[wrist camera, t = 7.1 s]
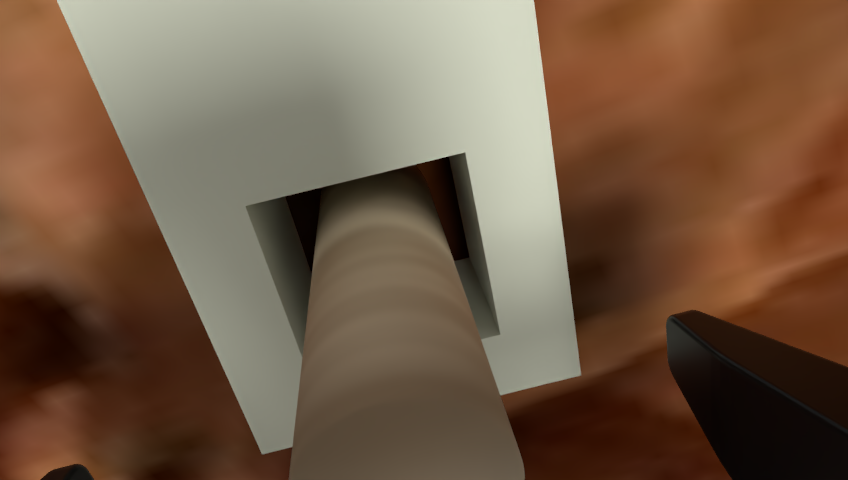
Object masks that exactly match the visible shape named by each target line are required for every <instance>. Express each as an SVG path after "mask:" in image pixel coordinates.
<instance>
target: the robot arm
mask: <svg viewBox="0 0 848 480" xmlns="http://www.w3.org/2000/svg"><path fill="white" fill-rule="evenodd" d="M666 332H667V354H668V363H669V367H670V370H671V373H672V375H673V377H674V379H675V380H676V382H677V384H678V386H679V388H680V390H681V391H682V393H683V395H684V397H685V399H686V401H687V402H688V404H689V406H690V408H691V410H692V412H693V413H694V415H695V417H696V419H697V421H698V422H699V424H700V426H701V428H702V430H703V432H704V433H705V435H706V437H707V439H708V441H709V443H710V444H711V446H712V448H713V450H714V451H715V453H716V455H717V457H718V458H719V460H720V462H721V463H722V465H723V466H724V468H725V469H726V471H727V472H728V474H729V475H730V477H731V478H732V480H848V367H846V366H843V365H841V364H838V363H835V362H833V361H830V360H827V359H825V358H822V357H819V356H817V355H814V354H811V353H809V352H806V351H803V350H801V349H798V348H795V347H793V346H790V345H787V344H785V343H782V342H779V341H777V340H774V339H772V338H769V337H766V336H764V335H761V334H758V333H756V332H753V331H750V330H748V329H745V328H742V327H740V326H737V325H734V324H732V323H729V322H726V321H724V320H721V319H718V318H716V317H713V316H710V315H708V314H705V313H702V312H700V311H696V310H690V311H686V312H682V313H678V314H674V315H671V316H670V317H669V318H668V319H667V323H666ZM41 480H94V479H93V477H92V476H91V474H90V473H89V471H88V470H87V468H86V467H84V466H83V465H81V464H74V465H70V466H66V467H62V468H58V469H55V470H52V471H50V472H49V473H48V474H46V475H45V476H44V477H43V478H42V479H41Z"/></svg>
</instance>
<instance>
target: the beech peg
mask: <svg viewBox="0 0 848 480" xmlns="http://www.w3.org/2000/svg"><path fill="white" fill-rule="evenodd" d="M289 480H525V473H524V465H523V461H522V458H521V454H520V451H519V448H518V445H517V443H516V440H515V437H514V434H513V431H512V428H511V425H510V422H509V419H508V416H507V414H506V411H505V408H504V405H503V402H502V399H501V396H500V393H499V390H498V387H497V385H496V382H495V379H494V376H493V373H492V370H491V367H490V364H489V361H488V358H487V356H486V353H485V350H484V347H483V344H482V341H481V338H480V335H479V332H478V329H477V326H476V324H475V321H474V318H473V315H472V312H471V309H470V306H469V303H468V300H467V297H466V295H465V292H464V289H463V286H462V283H461V280H460V277H459V274H458V271H457V268H456V266H455V263H454V260H453V257H452V254H451V251H450V248H449V245H448V242H447V239H446V237H445V234H444V231H443V228H442V225H441V222H440V219H439V216H438V213H437V210H436V208H435V205H434V202H433V199H432V196H431V193H430V190H429V187H428V184H427V182H426V180H425V178H424V176H423V175H422V173H421V171H420V170H419V169H418V168H417V167H416V166H415V165H411V166H407V167H403V168H399V169H395V170H391V171H387V172H383V173H378V174H374V175H370V176H366V177H362V178H358V179H354V180H350V181H346V182H342V183H338V184H333V185H329V186H325V187H323V188H322V192H321V198H320V207H319V216H318V225H317V234H316V243H315V251H314V260H313V269H312V278H311V287H310V296H309V304H308V313H307V322H306V331H305V340H304V349H303V357H302V366H301V375H300V384H299V393H298V402H297V410H296V419H295V428H294V437H293V446H292V455H291V463H290V472H289Z"/></svg>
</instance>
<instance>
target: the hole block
mask: <svg viewBox="0 0 848 480" xmlns="http://www.w3.org/2000/svg"><path fill="white" fill-rule="evenodd" d="M57 2H58V4H59V6H60V9H61V11H62V13H63V15H64V17H65V20H66V22H67V24H68V26H69V28H70V31H71V33H72V35H73V37H74V40H75V42H76V44H77V46H78V48H79V51H80V53H81V55H82V57H83V59H84V62H85V64H86V66H87V68H88V70H89V73H90V75H91V77H92V79H93V82H94V84H95V86H96V88H97V90H98V93H99V95H100V97H101V99H102V101H103V104H104V106H105V108H106V110H107V113H108V115H109V117H110V119H111V121H112V124H113V126H114V128H115V130H116V132H117V135H118V137H119V139H120V141H121V143H122V146H123V148H124V150H125V152H126V155H127V157H128V159H129V161H130V163H131V166H132V168H133V170H134V172H135V174H136V177H137V179H138V181H139V183H140V186H141V188H142V190H143V192H144V194H145V197H146V199H147V201H148V203H149V205H150V208H151V210H152V212H153V214H154V216H155V219H156V221H157V223H158V225H159V228H160V230H161V232H162V234H163V236H164V239H165V241H166V243H167V245H168V247H169V250H170V252H171V254H172V256H173V258H174V261H175V263H176V265H177V267H178V270H179V272H180V274H181V276H182V278H183V281H184V283H185V285H186V287H187V289H188V292H189V294H190V296H191V298H192V301H193V303H194V305H195V307H196V309H197V312H198V314H199V316H200V318H201V320H202V323H203V325H204V327H205V329H206V331H207V334H208V336H209V338H210V340H211V343H212V345H213V347H214V349H215V351H216V354H217V356H218V358H219V360H220V362H221V365H222V367H223V369H224V371H225V374H226V376H227V378H228V380H229V382H230V385H231V387H232V389H233V391H234V393H235V396H236V398H237V400H238V402H239V404H240V407H241V409H242V411H243V413H244V416H245V418H246V420H247V422H248V424H249V427H250V429H251V431H252V433H253V435H254V438H255V440H256V442H257V444H258V447H259V449H260V451H261V453H262V454H266V453H270V452H274V451H278V450H282V449H286V448H290V447H292V446H293V437H294V428H295V419H296V410H297V402H298V393H299V384H300V375H301V366H302V357H303V349H304V340H305V331H306V322H307V313H308V304H309V296H310V287H311V278H312V273H311V270H310V267H309V265H308V262H307V259H306V256H305V253H304V250H303V247H302V244H301V241H300V238H299V235H298V232H297V229H296V227H295V224H294V221H293V218H292V215H291V212H290V209H289V206H288V203H287V200H286V197H285V196H288V195H293V194H297V193H301V192H305V191H309V190H313V189H317V188H321V187H325V186H329V185H333V184H338V183H342V182H346V181H350V180H354V179H358V178H362V177H366V176H370V175H374V174H378V173H383V172H387V171H391V170H395V169H399V168H403V167H407V166H411V165H415V164H419V163H424V162H428V161H432V160H436V159H440V158H444V157H448V156H449V160H450V165H451V170H452V175H453V180H454V185H455V189H456V194H457V199H458V204H459V209H460V214H461V218H462V223H463V228H464V233H465V238H466V243H467V247H468V252H469V258H465V259H461V260H457V261H454V263H455V266H456V268H457V271H458V274H459V277H460V280H461V283H462V286H463V289H464V292H465V295H466V297H467V300H468V303H469V306H470V309H471V312H472V315H473V318H474V321H475V324H476V326H477V329H478V332H479V335H480V338H481V341H482V344H483V347H484V350H485V353H486V356H487V358H488V361H489V364H490V367H491V370H492V373H493V376H494V379H495V382H496V385H497V387H498V390H499V393H500V395H504V394H508V393H512V392H516V391H520V390H524V389H528V388H532V387H536V386H540V385H544V384H548V383H552V382H556V381H560V380H565V379H569V378H573V377H577V376H581V370H580V362H579V354H578V346H577V338H576V330H575V322H574V314H573V306H572V299H571V291H570V283H569V275H568V267H567V259H566V251H565V243H564V235H563V227H562V219H561V211H560V204H559V196H558V188H557V180H556V172H555V164H554V156H553V148H552V140H551V132H550V124H549V117H548V109H547V101H546V93H545V85H544V77H543V69H542V61H541V53H540V45H539V37H538V29H537V22H536V14H535V6H534V0H57Z"/></svg>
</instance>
